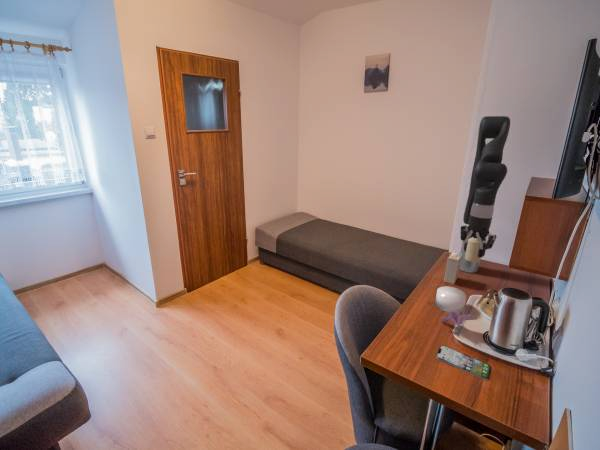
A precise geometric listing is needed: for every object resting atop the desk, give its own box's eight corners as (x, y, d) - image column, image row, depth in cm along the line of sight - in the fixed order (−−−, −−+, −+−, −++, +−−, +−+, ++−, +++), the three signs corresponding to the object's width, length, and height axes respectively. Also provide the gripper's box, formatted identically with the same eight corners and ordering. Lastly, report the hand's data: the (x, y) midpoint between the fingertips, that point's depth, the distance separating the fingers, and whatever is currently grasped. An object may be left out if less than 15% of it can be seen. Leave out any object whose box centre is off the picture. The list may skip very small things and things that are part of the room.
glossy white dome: (440, 295, 134) (442, 283, 132) (467, 304, 127) (469, 292, 125) (431, 306, 126) (433, 294, 124) (459, 317, 119) (462, 304, 117)
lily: (479, 335, 111) (476, 308, 112) (474, 341, 101) (471, 311, 103) (444, 332, 118) (441, 307, 119) (436, 337, 108) (434, 310, 110)
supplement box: (454, 285, 142) (459, 260, 138) (443, 282, 145) (447, 257, 140) (458, 278, 148) (462, 253, 144) (447, 275, 151) (451, 251, 147)
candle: (479, 258, 125) (484, 236, 121) (479, 263, 120) (484, 240, 117) (464, 255, 127) (469, 233, 124) (464, 260, 123) (468, 237, 119)
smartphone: (488, 380, 90) (435, 357, 98) (487, 382, 90) (435, 359, 99) (491, 364, 96) (440, 344, 104) (490, 367, 96) (440, 346, 104)
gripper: (505, 218, 113) (496, 259, 118) (471, 209, 125) (464, 246, 131) (492, 221, 110) (483, 263, 115) (458, 211, 122) (451, 249, 128)
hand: (473, 254), depth 123 cm, fingers closed on candle, 5 cm apart
